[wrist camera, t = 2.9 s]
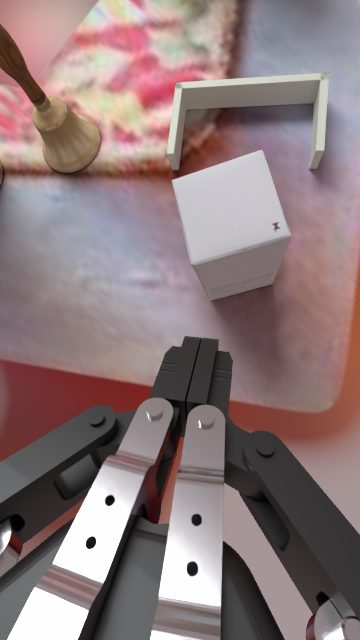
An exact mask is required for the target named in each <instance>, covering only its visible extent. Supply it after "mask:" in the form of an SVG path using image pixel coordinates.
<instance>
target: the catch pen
mask: <svg viewBox="0 0 360 640" xmlns="http://www.w3.org/2000/svg"><path fill="white" fill-rule="evenodd" d="M328 82H329V72H328V73H313V74H298V75H283V76H268V77H254V78H239V79H224V80H209V81H195V82H180V83H176V88H175V95H174V103H173V110H172V118H171V126H170V133H169V141H168V148H167V156H168V159H169V162H170V165H171V168H172V170H179V164H180V156H181V148H182V140H183V132H184V124H185V116H186V110H188V109H209V108H229V107H249V106H269V105H290V104H310V103H314V107H313V121H312V136H311V151H310V166H309V169H317V167H318V165H319V162H320V160H321V157H322V155H323V152H324V147H325V131H326V115H327V98H328Z"/></svg>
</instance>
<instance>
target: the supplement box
mask: <svg viewBox="0 0 360 640" xmlns="http://www.w3.org/2000/svg"><path fill="white" fill-rule="evenodd" d="M172 184H173V188H174V193H175V197H176V201H177V206H178V210H179V215H180V219H181V224H182V228H183V233H184V237H185V242H186V246H187V251H188V255H189V259H190V264H191V266H192V267H193V268H194V270H195V272H196V274H197V276H198V278H199V280H200V282H201V284H202V286H203V288H204V290H205V292H206V294H207V296H208V298H209V299H210V300H215V299H219V298H223V297H227V296H231V295H234V294H238V293H242V292H245V291H249V290H252V289H256V288H260V287H263V286H267V285H271V284H273V282H274V279H275V277H276V274H277V272H278V269H279V267H280V264H281V262H282V259H283V257H284V254H285V252H286V249H287V247H288V244H289V242H290V239H291V237H292V235H291V232H290V230H289V227H288V224H287V221H286V218H285V215H284V212H283V209H282V207H281V204H280V201H279V198H278V195H277V192H276V189H275V186H274V183H273V180H272V177H271V174H270V171H269V168H268V165H267V162H266V159H265V156H264V153H263V151H262V150H259V151H256V152H253V153H250V154H248V155H245V156H242V157H239V158H236V159H233V160H230V161H227V162H224V163H221V164H218V165H215V166H212V167H209V168H207V169H204V170H201V171H198V172H195V173H192V174H189V175H186V176H183V177H180V178H177V179H174V180H172Z"/></svg>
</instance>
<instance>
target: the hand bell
mask: <svg viewBox="0 0 360 640" xmlns="http://www.w3.org/2000/svg"><path fill="white" fill-rule="evenodd" d="M0 68H1V69H2V70H3V71H5V72H6V73H7V74H8V75H9V76H11V77H12V78H13V79H14V80H16V81H17V82H18V84H19V85H20V86H21V87H22V89H23V90H24V91H25V93H26V94H27V96H28V97H29V98H30V100H31V102H32V103H33V104H34V106H35V107H34V109H33V113H32V120H33V123H34V125H35V127H36V128H37V129H38V131H39V133H40V134H41V136H42V139H43V147H42V148H43V155H44V158H45V160H46V162H47V164H48V165H49V166H50V167H51V168H53V169H54V170H56V171H59V172H64V173H70V172H75V171H78V170H80V169H82V168H84V167H85V166H87V165H88V164H89V163H90V162H91V161H92V160H93V159H94V158H95V156H96V155H97V153H98V151H99V148H100V143H101V134H100V131H99V128H98V126H97V125H96V124H95V122H94V121H92V120H91V119H89V118H88V117H86V116H83V115H77V114H75V113H74V112H73V111H72V110H71V109H70V108H69V107H68V106H67V104H66V103H65V102H64V101H63V100H62V99H60V98H58V97H55V96H49V97H47V96H46V95H45V93H44V92H43V91H42V90H41V88H40V87H39V85H38V84H37V83H36V82H35V80H34V79H33V78H32V76H31V75H30V73H29V71H28V69H27V66H26V64H25V61H24V58H23V56H22V54H21V52H20V51H19V49H18V47H17V45H16V44H15V42H14V40H13V39H12V38H11V36H10V35H9V33H8V32H7V31H6V30H5V29H4V28H3V26H2V25H1V24H0Z"/></svg>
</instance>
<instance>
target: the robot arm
mask: <svg viewBox="0 0 360 640" xmlns="http://www.w3.org/2000/svg"><path fill="white" fill-rule="evenodd" d="M2 177H3V168H2V164H1V162H0V185H1V182H2ZM218 344H219V340H218V339H209V338H202V339H201V338H199V337H189V336H185V338H184V340H183V344H182V347H176V346H172V347H171V348H170V349H169V350H168V351H167V352H166V353H165V356H164V359H163V361H162V364H161V367H160V370H159V372H158V375H157V378H156V380H155V383H154V386H153V388H152V391H151V394H150V396H149V399H148V400H146V401H144V402H143V403H142V404H141V405H140V406H139V408H138V409H136V410H133V411H129V412H122V413H115V412H114V410H113V409H112V408H110V407H109V406H106V405H97V406H94V407H91V408H89V409H88V410H86V411H84V412H82V413H81V414H79V415H77V416H76V417H74V418H73V419H71V420H69V421H68V422H66V423H64V424H63V425H61V426H60V427H58V428H56V429H54V430H53V431H51V432H49V433H48V434H46V435H44V436H43V437H41V438H40V439H38V440H36V441H35V442H33V443H31V444H30V445H28V446H26V447H25V448H23V449H21V450H20V451H18V452H16V453H15V454H13V455H12V456H10V457H8V458H7V459H5V460H3V461H2V462H0V640H285V639H284V637H283V635H282V633H281V631H280V629H279V627H278V625H277V623H276V621H275V619H274V617H273V615H272V613H271V611H270V609H269V607H268V605H267V603H266V601H265V599H264V597H263V595H262V593H261V591H260V589H259V587H258V585H257V583H256V581H255V579H254V577H253V575H252V573H251V571H250V569H249V568H248V566H247V565H246V563H245V562H244V560H243V559H242V558H241V557H240V555H239V554H238V553H237V552H236V551H235V550H234V549H233V548H232V547H231V546H229V545H228V544H227V543H225V542H224V541H223V506H224V504H223V503H224V483H226V484H227V485H229V486H231V487H233V488H235V489H236V490H238V491H239V493H240V496H241V497H242V499H243V501H244V502H245V504H246V506H247V507H248V509H249V510H250V512H251V514H252V515H253V517H254V519H255V520H256V522H257V523H258V525H259V527H260V528H261V530H262V532H263V533H264V535H265V537H266V538H267V540H268V541H269V543H270V545H271V546H272V548H273V550H274V551H275V553H276V555H277V556H278V558H279V559H280V561H281V563H282V564H283V566H284V568H285V569H286V571H287V573H288V574H289V576H290V578H291V579H292V581H293V582H294V584H295V586H296V587H297V589H298V591H299V592H300V594H301V595H302V597H303V599H304V600H305V602H306V604H307V605H308V607H309V608H310V610H311V612H312V613H313V615H312V616H311V618H310V619H309V621H308V624H307V628H306V640H360V535H359V533H358V532H357V531H356V530H355V529H354V527H353V526H352V525H351V524H350V523H349V521H348V520H347V519H346V518H345V517H344V515H343V514H342V513H341V512H340V511H339V509H338V508H337V507H336V506H335V505H334V503H333V502H332V501H331V500H330V499H329V497H328V496H327V495H326V494H325V493H324V491H323V490H322V489H321V488H320V487H319V485H318V484H317V483H316V482H315V481H314V479H313V478H312V477H311V476H310V475H309V473H308V472H307V471H306V470H305V469H304V467H303V466H302V465H301V464H300V463H299V461H298V460H297V459H296V458H295V457H294V455H293V454H292V453H291V452H290V451H289V449H288V448H287V447H286V446H285V445H284V443H283V442H282V441H281V440H280V439H279V438H278V437H277V436H275V435H274V434H272V433H270V432H266V431H255V432H252V433H249V432H246V431H244V430H242V429H240V428H239V427H237V426H236V425H235V424H234V423H233V422H232V421H231V420H230V418H229V416H228V406H229V398H230V389H231V378H232V364H233V361H232V358H231V356H230V354H229V352H222V351H218ZM180 437H185V438H184V445H183V452H182V459H181V466H180V470H179V471H178V473H177V478H176V485H175V491H174V498H173V504H172V511H171V519H170V523H169V524H158V523H159V519H160V514H161V505H162V500H163V497H164V494H165V491H166V488H167V485H168V481H169V478H170V475H171V472H172V469H173V465H174V463H175V459H176V456H177V448H178V444H179V440H180ZM86 496H87V497H86ZM85 497H86V499H85V501H84V503H83V505H82V506H81V509H80V511H79V512H78V514H77V516H76V518H74V519H72V520H71V521H69V522H67V523H66V524H65V525H63V526H62V527H60V528H59V529H58V530H57V531H56V532H54V533H53V534H52V535H51V536H50V537H48V538H47V539H46V540H45V541H44V542H42V543H41V544H40V545H39V546H37V547H36V548H35V549H34V550H33V551H31V552H30V553H29V554H28V555H26V556H25V557H24V558H23V559H22V560H20V561H19V562H18V560H19V557H20V554H21V552H22V547H23V544H24V543H25V542H27V541H28V540H29V539H31V538H32V537H33V536H34V535H36V534H37V533H38V532H40V531H41V530H42V529H44V528H45V527H46V526H47V525H49V524H50V523H52V522H53V521H54V520H56V519H57V518H58V517H59V516H61V515H62V514H64V513H65V512H66V511H67V510H69V509H70V508H72V507H73V506H74V505H76V504H77V503H78V502H79V501H81V500H82V499H83V498H85ZM17 562H18V563H17Z"/></svg>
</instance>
